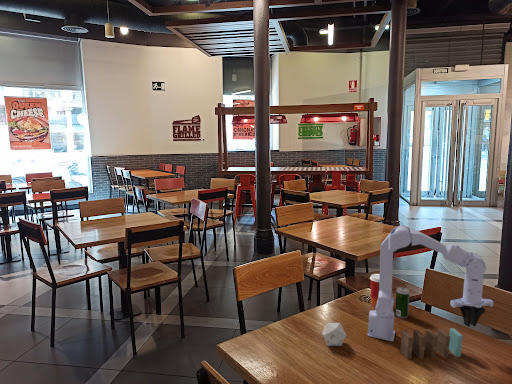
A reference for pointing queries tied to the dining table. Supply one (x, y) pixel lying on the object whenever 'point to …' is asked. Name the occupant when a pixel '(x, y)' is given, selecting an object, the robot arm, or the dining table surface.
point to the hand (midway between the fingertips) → (469, 325)
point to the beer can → (402, 302)
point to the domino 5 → (455, 342)
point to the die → (334, 334)
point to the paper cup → (374, 288)
